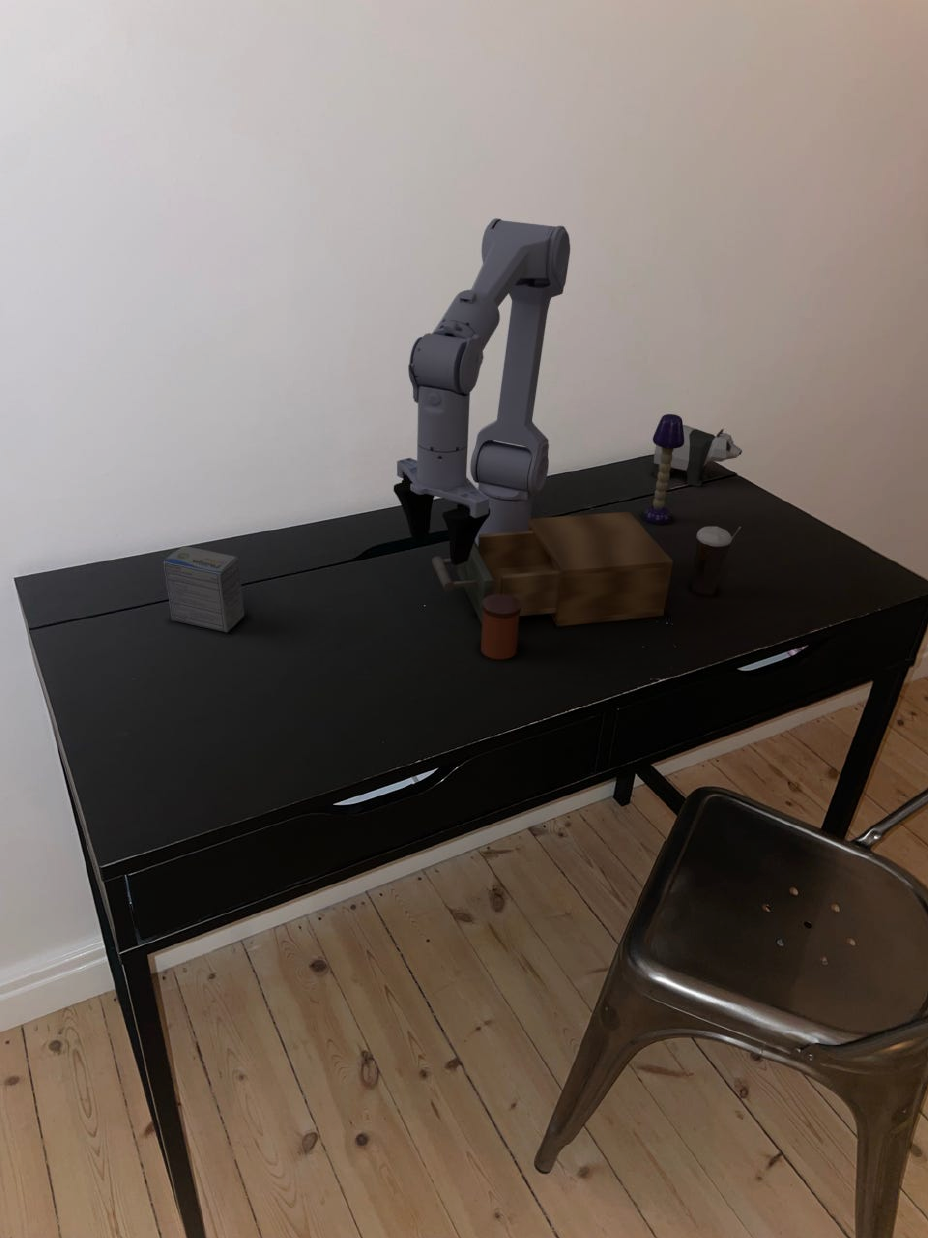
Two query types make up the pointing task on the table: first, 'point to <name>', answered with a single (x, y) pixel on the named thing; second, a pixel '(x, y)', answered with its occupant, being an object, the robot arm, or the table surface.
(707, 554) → the milkshake
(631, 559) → the cabinet
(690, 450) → the giant panda
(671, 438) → the toy lamp
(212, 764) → the table surface
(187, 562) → the medicine box
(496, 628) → the spice jar
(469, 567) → the drawer
